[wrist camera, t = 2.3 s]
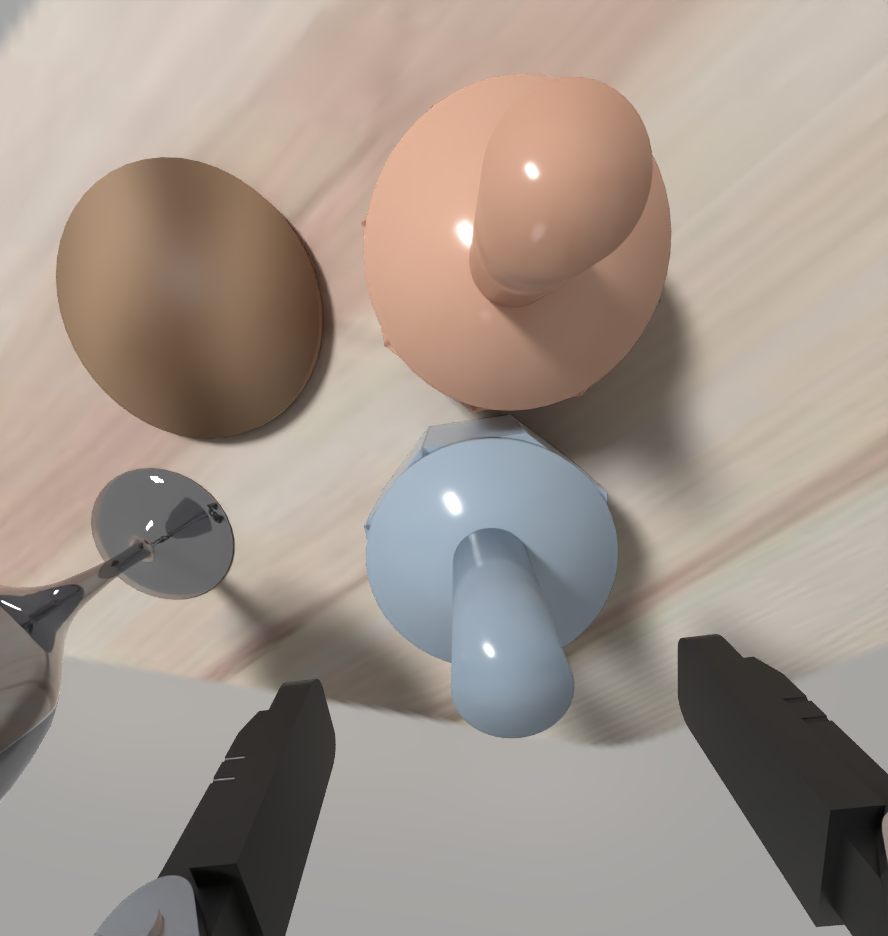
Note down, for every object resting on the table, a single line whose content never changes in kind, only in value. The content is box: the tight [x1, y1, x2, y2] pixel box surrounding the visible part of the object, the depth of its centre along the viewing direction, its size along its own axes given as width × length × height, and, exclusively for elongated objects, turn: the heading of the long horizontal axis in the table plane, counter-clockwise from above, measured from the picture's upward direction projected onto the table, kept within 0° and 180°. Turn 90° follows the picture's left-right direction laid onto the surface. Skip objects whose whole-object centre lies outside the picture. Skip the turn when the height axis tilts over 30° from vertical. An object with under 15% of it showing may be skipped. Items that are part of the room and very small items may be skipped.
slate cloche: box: [364, 414, 618, 738], centre depth 15 cm, size 9×9×11 cm
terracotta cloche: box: [362, 74, 671, 413], centre depth 12 cm, size 9×9×11 cm
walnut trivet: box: [56, 157, 323, 438], centre depth 18 cm, size 11×11×1 cm
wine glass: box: [0, 468, 234, 803], centre depth 14 cm, size 8×8×15 cm
